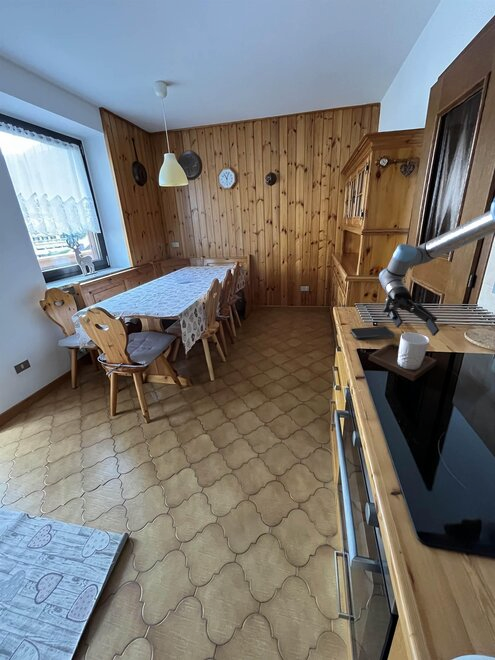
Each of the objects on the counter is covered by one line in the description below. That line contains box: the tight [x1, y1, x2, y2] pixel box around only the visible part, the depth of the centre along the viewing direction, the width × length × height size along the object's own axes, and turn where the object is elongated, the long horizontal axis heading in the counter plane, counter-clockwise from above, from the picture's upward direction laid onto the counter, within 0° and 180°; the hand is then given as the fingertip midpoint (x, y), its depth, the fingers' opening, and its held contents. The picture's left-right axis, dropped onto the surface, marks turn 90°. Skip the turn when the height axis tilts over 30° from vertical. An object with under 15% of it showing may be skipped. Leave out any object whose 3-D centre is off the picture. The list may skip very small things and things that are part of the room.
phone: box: [350, 325, 395, 341], centre depth 114 cm, size 8×1×15 cm
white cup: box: [397, 331, 430, 370], centre depth 92 cm, size 8×8×10 cm
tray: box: [368, 342, 437, 382], centre depth 96 cm, size 16×14×2 cm
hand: (417, 328), depth 97 cm, fingers open, 13 cm apart
